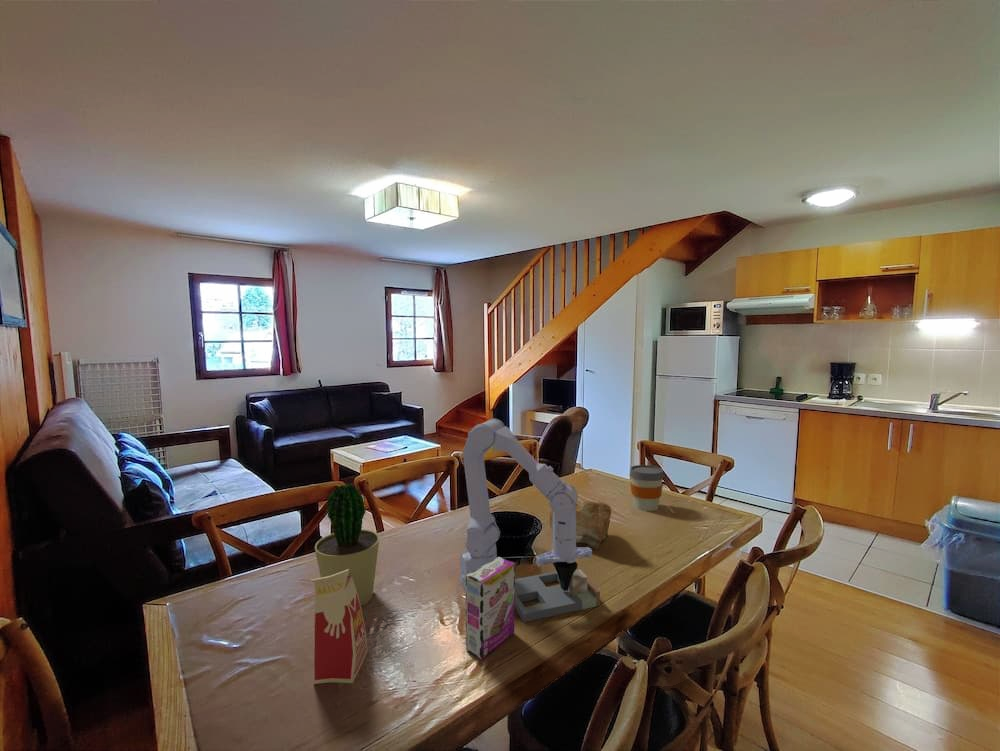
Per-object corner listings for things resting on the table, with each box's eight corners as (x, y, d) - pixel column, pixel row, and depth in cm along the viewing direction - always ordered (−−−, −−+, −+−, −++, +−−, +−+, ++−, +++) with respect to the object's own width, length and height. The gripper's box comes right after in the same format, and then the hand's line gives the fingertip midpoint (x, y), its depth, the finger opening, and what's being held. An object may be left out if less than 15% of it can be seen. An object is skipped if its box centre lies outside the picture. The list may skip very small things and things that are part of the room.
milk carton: (367, 650, 94) (364, 558, 92) (355, 683, 84) (351, 581, 83) (323, 651, 93) (320, 559, 92) (306, 685, 84) (302, 583, 83)
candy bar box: (482, 661, 90) (481, 583, 89) (464, 651, 93) (463, 575, 92) (516, 633, 98) (515, 561, 97) (498, 624, 102) (498, 555, 100)
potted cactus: (377, 577, 123) (374, 470, 121) (384, 607, 109) (380, 487, 107) (317, 588, 117) (313, 477, 115) (316, 622, 103) (311, 495, 101)
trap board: (523, 622, 102) (523, 607, 102) (502, 588, 117) (502, 575, 116) (599, 605, 109) (599, 591, 108) (571, 575, 123) (571, 563, 123)
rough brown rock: (633, 547, 141) (634, 500, 142) (599, 558, 131) (600, 507, 131) (577, 526, 160) (579, 485, 160) (544, 535, 150) (546, 490, 150)
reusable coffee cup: (623, 503, 178) (623, 466, 177) (649, 499, 182) (650, 463, 181) (641, 514, 166) (642, 475, 165) (670, 510, 170) (670, 471, 169)
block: (573, 595, 110) (573, 579, 109) (565, 587, 113) (565, 571, 113) (587, 592, 111) (587, 576, 111) (579, 584, 115) (579, 569, 114)
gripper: (544, 547, 104) (544, 603, 105) (598, 537, 109) (598, 591, 109) (532, 534, 111) (532, 587, 112) (584, 526, 115) (584, 577, 116)
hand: (564, 588), depth 111 cm, fingers closed
